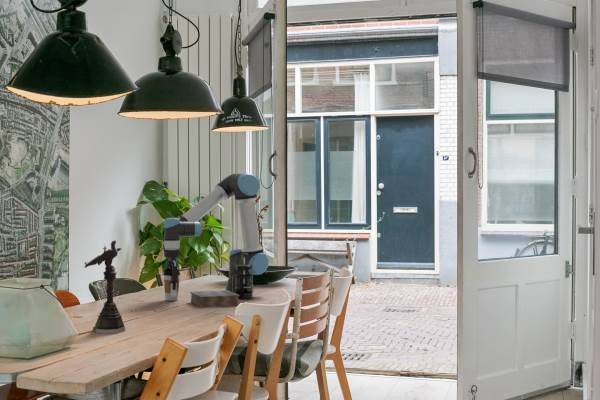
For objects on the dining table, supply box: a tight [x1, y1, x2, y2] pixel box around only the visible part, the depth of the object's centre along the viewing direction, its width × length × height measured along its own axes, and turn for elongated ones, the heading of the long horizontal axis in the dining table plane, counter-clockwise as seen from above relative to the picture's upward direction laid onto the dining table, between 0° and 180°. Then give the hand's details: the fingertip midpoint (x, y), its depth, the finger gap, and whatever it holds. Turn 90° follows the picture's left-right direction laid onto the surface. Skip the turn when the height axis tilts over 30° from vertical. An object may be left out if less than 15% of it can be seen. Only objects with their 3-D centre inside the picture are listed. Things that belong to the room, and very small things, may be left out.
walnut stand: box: [189, 289, 240, 308], centre depth 349 cm, size 19×19×5 cm
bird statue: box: [84, 240, 126, 335], centre depth 275 cm, size 17×13×35 cm
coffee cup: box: [162, 268, 181, 302], centre depth 358 cm, size 8×8×15 cm
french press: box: [231, 253, 254, 301], centre depth 368 cm, size 12×9×23 cm
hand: (171, 295), depth 358 cm, fingers closed on coffee cup, 8 cm apart
